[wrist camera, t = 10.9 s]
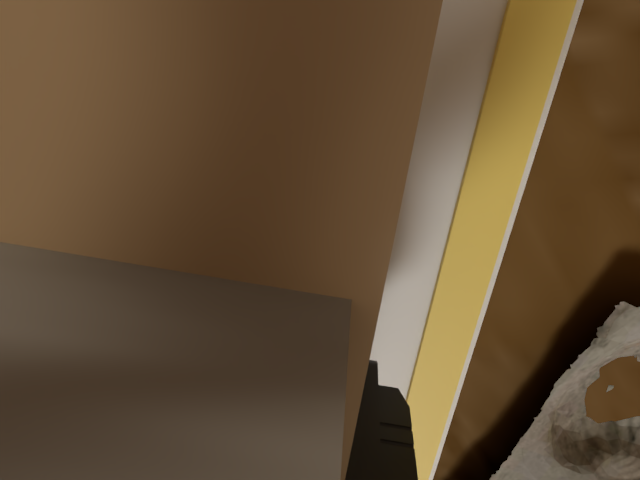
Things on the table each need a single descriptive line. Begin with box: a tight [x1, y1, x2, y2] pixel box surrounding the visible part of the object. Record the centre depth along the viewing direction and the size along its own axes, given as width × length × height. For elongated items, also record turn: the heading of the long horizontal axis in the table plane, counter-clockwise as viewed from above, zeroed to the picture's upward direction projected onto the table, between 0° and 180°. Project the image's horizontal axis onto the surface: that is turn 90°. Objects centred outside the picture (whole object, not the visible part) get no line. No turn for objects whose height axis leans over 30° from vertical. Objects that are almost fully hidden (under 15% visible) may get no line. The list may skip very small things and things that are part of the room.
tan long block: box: [0, 0, 443, 480], centre depth 9 cm, size 5×18×4 cm, turn 173°
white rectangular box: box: [370, 0, 584, 480], centre depth 15 cm, size 12×24×6 cm, turn 173°
